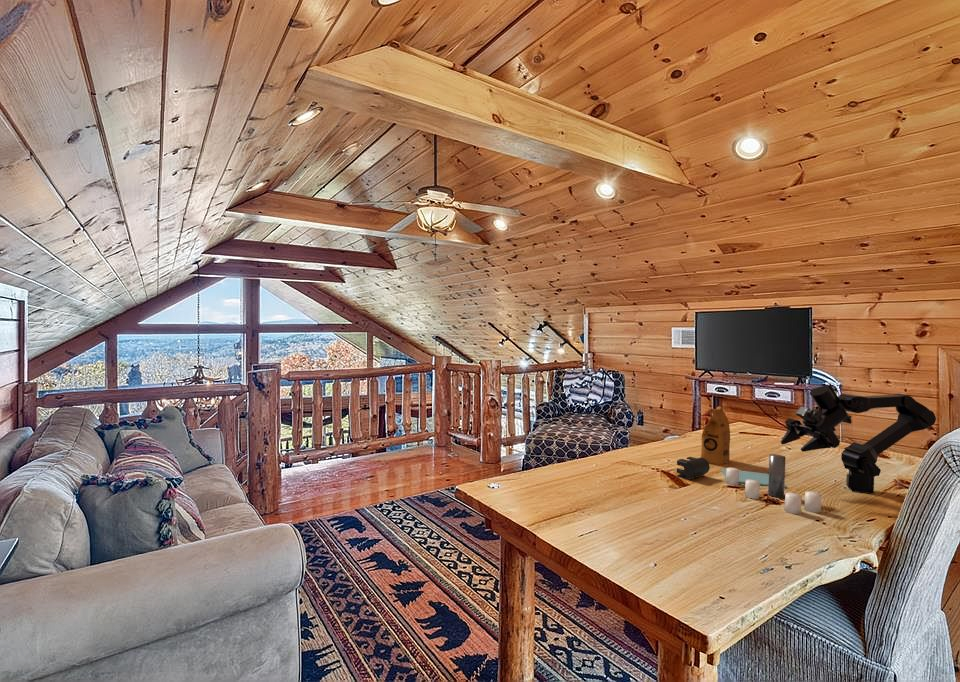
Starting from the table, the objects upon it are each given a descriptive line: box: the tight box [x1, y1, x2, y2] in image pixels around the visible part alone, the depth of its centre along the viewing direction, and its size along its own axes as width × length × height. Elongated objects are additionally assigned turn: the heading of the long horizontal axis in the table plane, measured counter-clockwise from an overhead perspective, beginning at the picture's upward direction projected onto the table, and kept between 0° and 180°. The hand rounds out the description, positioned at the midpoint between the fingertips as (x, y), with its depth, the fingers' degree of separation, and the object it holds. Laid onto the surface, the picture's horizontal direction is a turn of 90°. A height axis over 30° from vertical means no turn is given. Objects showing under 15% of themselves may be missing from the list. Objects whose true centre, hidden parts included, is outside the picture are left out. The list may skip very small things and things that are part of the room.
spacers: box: [725, 467, 822, 515], centre depth 152 cm, size 14×29×5 cm, turn 11°
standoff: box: [767, 453, 787, 499], centre depth 152 cm, size 4×4×13 cm
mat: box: [720, 468, 788, 489], centre depth 169 cm, size 18×14×1 cm
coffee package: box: [700, 405, 731, 466], centre depth 191 cm, size 10×12×22 cm
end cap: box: [676, 456, 711, 480], centre depth 170 cm, size 10×7×7 cm
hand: (791, 446), depth 157 cm, fingers open, 9 cm apart
